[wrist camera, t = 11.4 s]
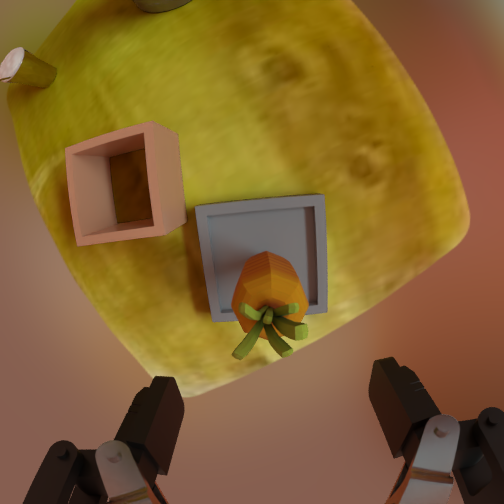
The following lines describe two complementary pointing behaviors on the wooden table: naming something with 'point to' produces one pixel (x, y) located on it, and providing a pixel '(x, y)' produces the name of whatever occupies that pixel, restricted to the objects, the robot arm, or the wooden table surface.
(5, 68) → the milkshake
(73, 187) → the box
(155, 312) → the wooden table surface
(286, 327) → the carrot
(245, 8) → the wooden table surface
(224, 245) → the tray
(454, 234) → the wooden table surface
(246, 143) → the wooden table surface
